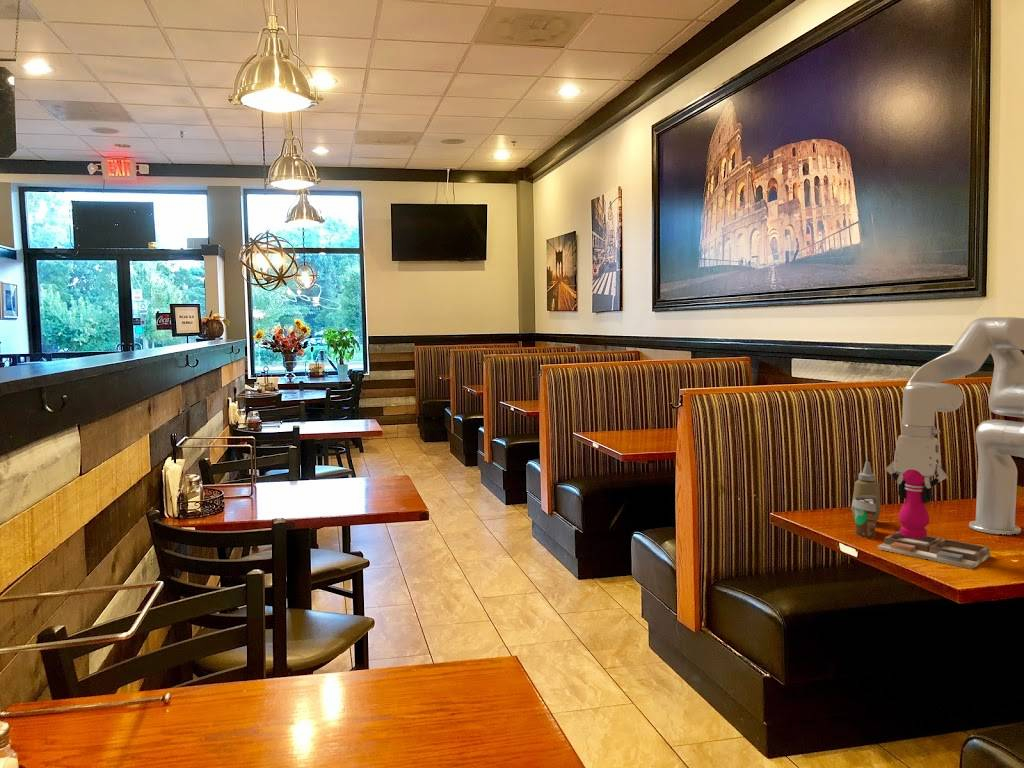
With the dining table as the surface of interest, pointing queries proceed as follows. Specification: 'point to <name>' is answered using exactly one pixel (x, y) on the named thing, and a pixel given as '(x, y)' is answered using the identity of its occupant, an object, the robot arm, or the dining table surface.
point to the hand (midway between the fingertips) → (914, 499)
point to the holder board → (937, 550)
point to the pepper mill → (914, 507)
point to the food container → (865, 515)
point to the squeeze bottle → (867, 487)
